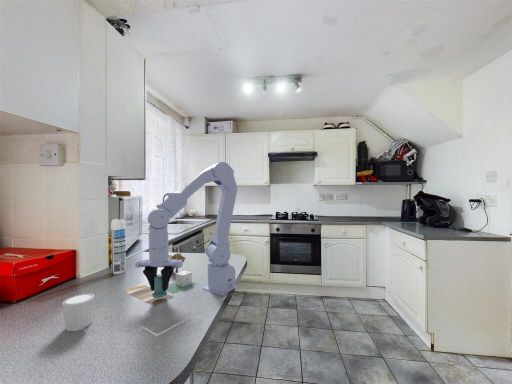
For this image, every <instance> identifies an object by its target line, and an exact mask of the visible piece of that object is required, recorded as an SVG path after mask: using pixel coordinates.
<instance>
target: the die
mask: <svg viewBox="0 0 512 384" xmlns="http://www.w3.org/2000/svg"><path fill="white" fill-rule="evenodd" d="M178 272H179V273H176V272H175V282H176V284H177V285H180V286H182V287H184V286H186V285H188V284H191V283H192V282H193V277H192V276H193V272H191V271H188V270H182V271H178Z"/></svg>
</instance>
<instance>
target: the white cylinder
mask: <svg viewBox="0 0 512 384" xmlns="http://www.w3.org/2000/svg"><path fill="white" fill-rule="evenodd" d="M95 296H96V295H95V294H94V293H81V294H77V295H74V296H70V297H68V298H66V299H64V300H63V301H62V303H61V304H62V311H63V318H64V325H65V326H64V327H65V331H66V330H68V331H74V332H79V331H81V330H84V329H85V328H86V327H88V326H90V325H91V324H92V323H93V321H94V320H93V319H94V309H95V299H96V298H95ZM78 330H79V331H78ZM68 331H67V332H68Z"/></svg>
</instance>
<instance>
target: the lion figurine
mask: <svg viewBox="0 0 512 384" xmlns="http://www.w3.org/2000/svg"><path fill="white" fill-rule="evenodd" d="M169 259H175V260H183V263H185V260H186V257H185V256H183V255H182V253H180V252H179V253H178V252H177V253H175V254H173V255H171V254H169ZM163 268H164V267H162V269H163ZM174 269H175V273H174V271H173V272H172V275H171V276H174V274H176V273H179V272H180V271H179V268H177V267H175V268H174Z"/></svg>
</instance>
